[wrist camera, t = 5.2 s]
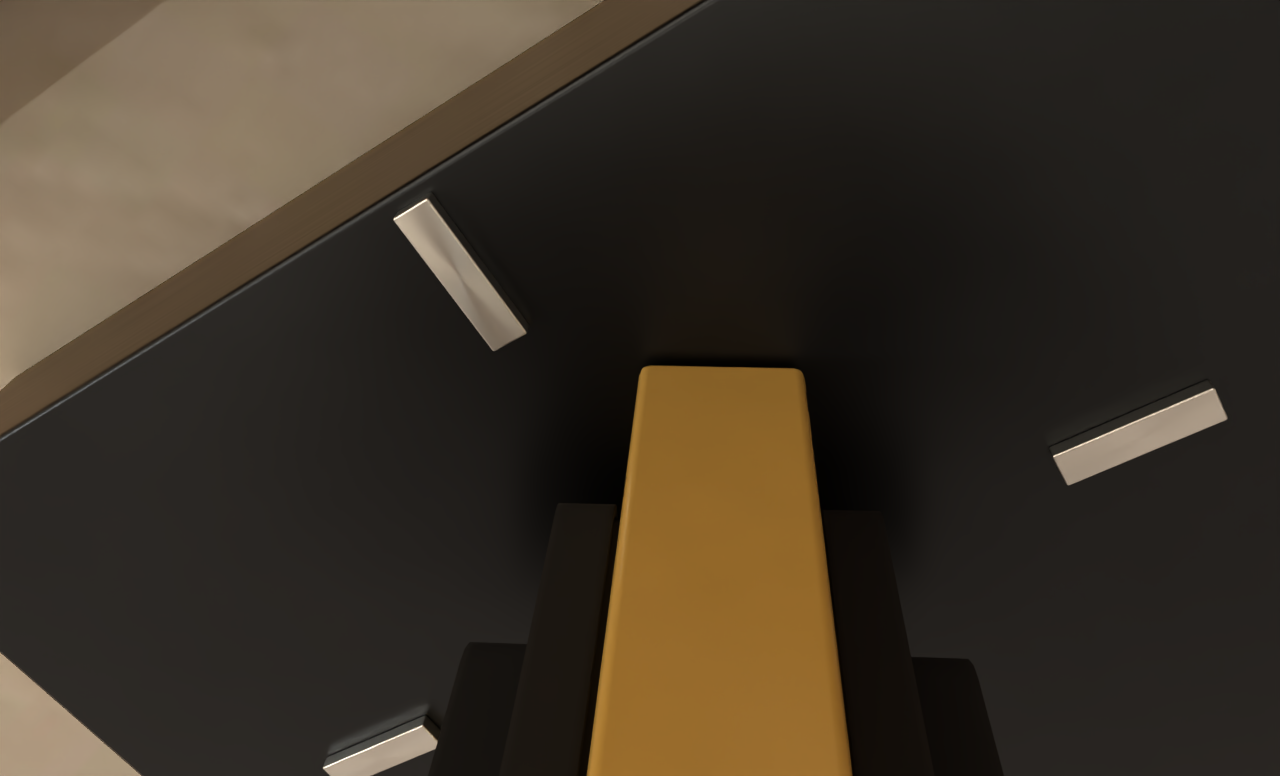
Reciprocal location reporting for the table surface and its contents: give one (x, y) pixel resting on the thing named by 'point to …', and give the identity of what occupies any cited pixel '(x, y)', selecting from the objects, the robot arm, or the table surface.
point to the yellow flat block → (720, 587)
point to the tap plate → (703, 336)
